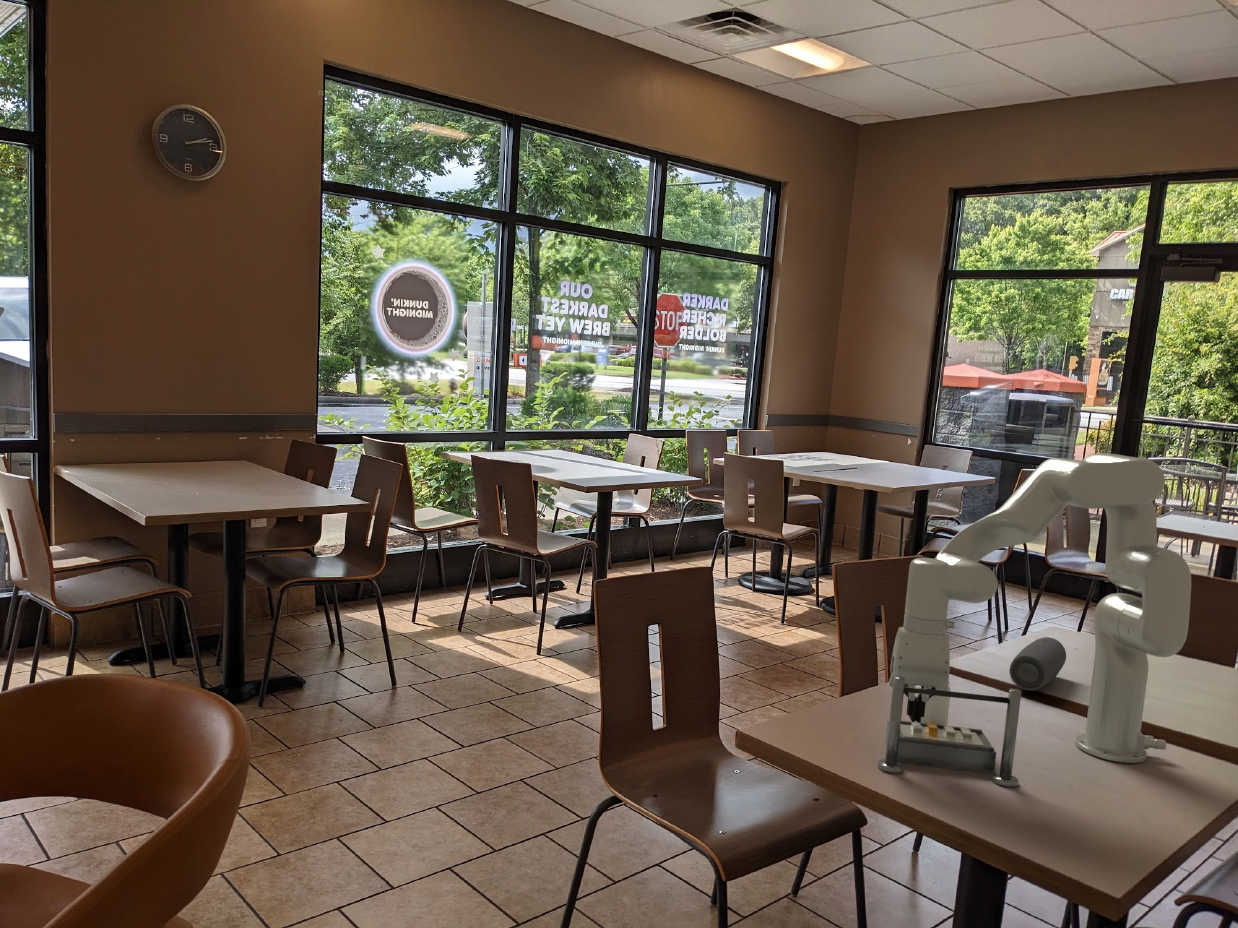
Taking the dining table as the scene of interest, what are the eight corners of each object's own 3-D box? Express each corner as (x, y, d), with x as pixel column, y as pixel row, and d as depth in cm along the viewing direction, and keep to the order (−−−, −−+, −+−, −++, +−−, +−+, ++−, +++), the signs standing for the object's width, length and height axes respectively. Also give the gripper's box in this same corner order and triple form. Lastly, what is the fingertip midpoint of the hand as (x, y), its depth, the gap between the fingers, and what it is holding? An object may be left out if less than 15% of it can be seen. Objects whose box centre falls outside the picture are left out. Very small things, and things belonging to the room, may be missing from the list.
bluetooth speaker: (1026, 669, 242) (1031, 631, 241) (1066, 678, 237) (1070, 639, 236) (1004, 690, 224) (1008, 648, 223) (1046, 700, 218) (1051, 658, 217)
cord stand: (1014, 778, 172) (1024, 687, 170) (1021, 788, 168) (1031, 695, 166) (876, 762, 175) (885, 672, 174) (879, 771, 171) (888, 680, 169)
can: (947, 746, 186) (953, 686, 184) (913, 741, 187) (919, 682, 186) (943, 734, 192) (949, 676, 191) (909, 730, 193) (915, 672, 192)
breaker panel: (980, 752, 184) (983, 723, 183) (993, 773, 174) (997, 742, 173) (885, 741, 186) (888, 712, 185) (893, 761, 176) (896, 731, 176)
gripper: (961, 623, 180) (951, 717, 182) (880, 615, 182) (871, 708, 184) (970, 634, 173) (960, 731, 175) (886, 625, 175) (876, 722, 177)
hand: (914, 719), depth 179 cm, fingers closed
